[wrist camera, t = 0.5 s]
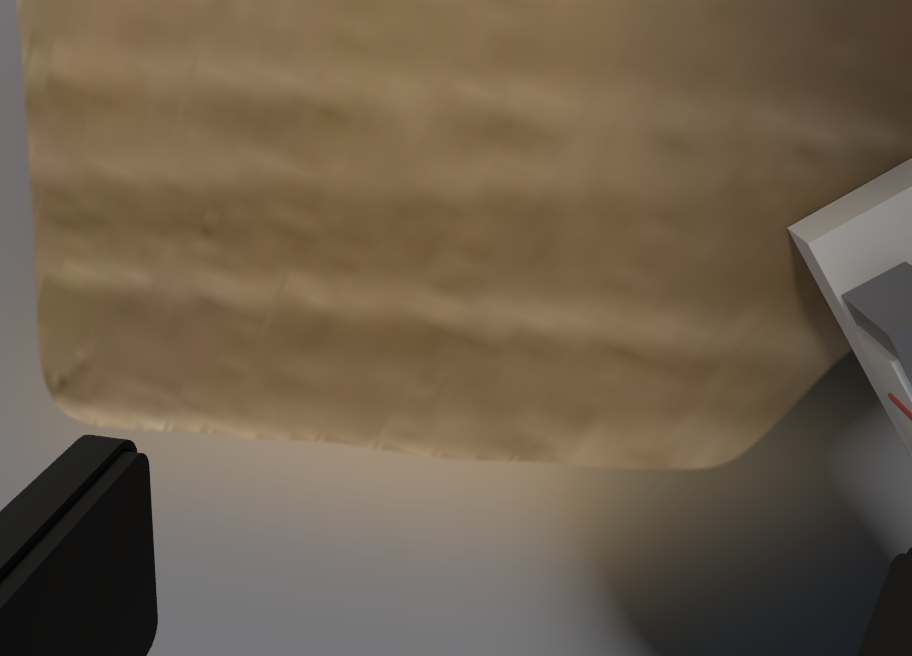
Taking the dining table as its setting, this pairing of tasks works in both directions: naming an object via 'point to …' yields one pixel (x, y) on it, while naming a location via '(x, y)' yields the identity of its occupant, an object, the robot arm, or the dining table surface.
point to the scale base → (870, 281)
